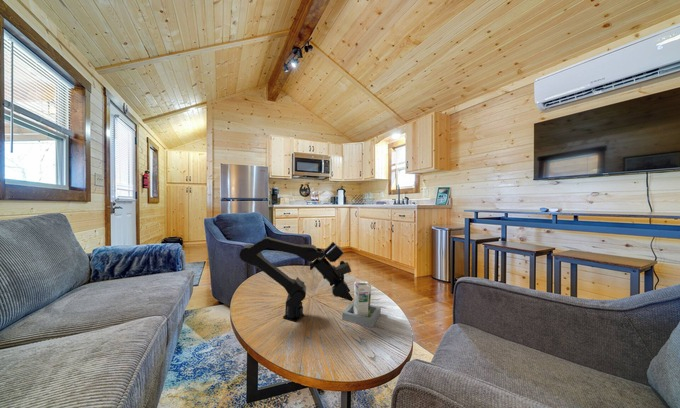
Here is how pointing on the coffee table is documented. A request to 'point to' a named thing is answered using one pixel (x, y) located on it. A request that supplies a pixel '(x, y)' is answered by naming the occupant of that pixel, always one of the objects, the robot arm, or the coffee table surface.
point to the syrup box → (362, 298)
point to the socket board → (360, 319)
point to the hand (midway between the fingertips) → (350, 295)
